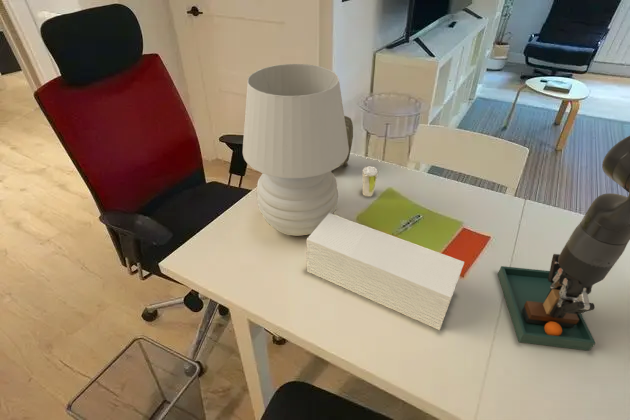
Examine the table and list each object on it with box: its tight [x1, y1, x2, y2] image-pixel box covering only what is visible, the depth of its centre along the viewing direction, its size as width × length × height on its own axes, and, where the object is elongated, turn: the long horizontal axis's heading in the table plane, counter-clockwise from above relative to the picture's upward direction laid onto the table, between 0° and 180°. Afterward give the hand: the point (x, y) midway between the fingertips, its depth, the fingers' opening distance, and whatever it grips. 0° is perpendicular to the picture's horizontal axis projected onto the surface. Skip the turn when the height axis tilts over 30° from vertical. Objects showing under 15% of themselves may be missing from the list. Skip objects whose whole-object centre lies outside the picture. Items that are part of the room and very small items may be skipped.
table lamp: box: [242, 63, 349, 237], centre depth 91 cm, size 25×25×40 cm
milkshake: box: [362, 165, 381, 198], centre depth 111 cm, size 4×5×10 cm
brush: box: [522, 289, 579, 328], centre depth 75 cm, size 9×4×8 cm, turn 82°
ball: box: [544, 321, 562, 336], centre depth 74 cm, size 3×3×3 cm
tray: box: [497, 265, 596, 352], centre depth 80 cm, size 13×18×3 cm
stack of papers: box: [306, 213, 465, 331], centre depth 83 cm, size 32×11×11 cm, turn 60°
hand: (552, 309), depth 76 cm, fingers closed on brush, 2 cm apart
